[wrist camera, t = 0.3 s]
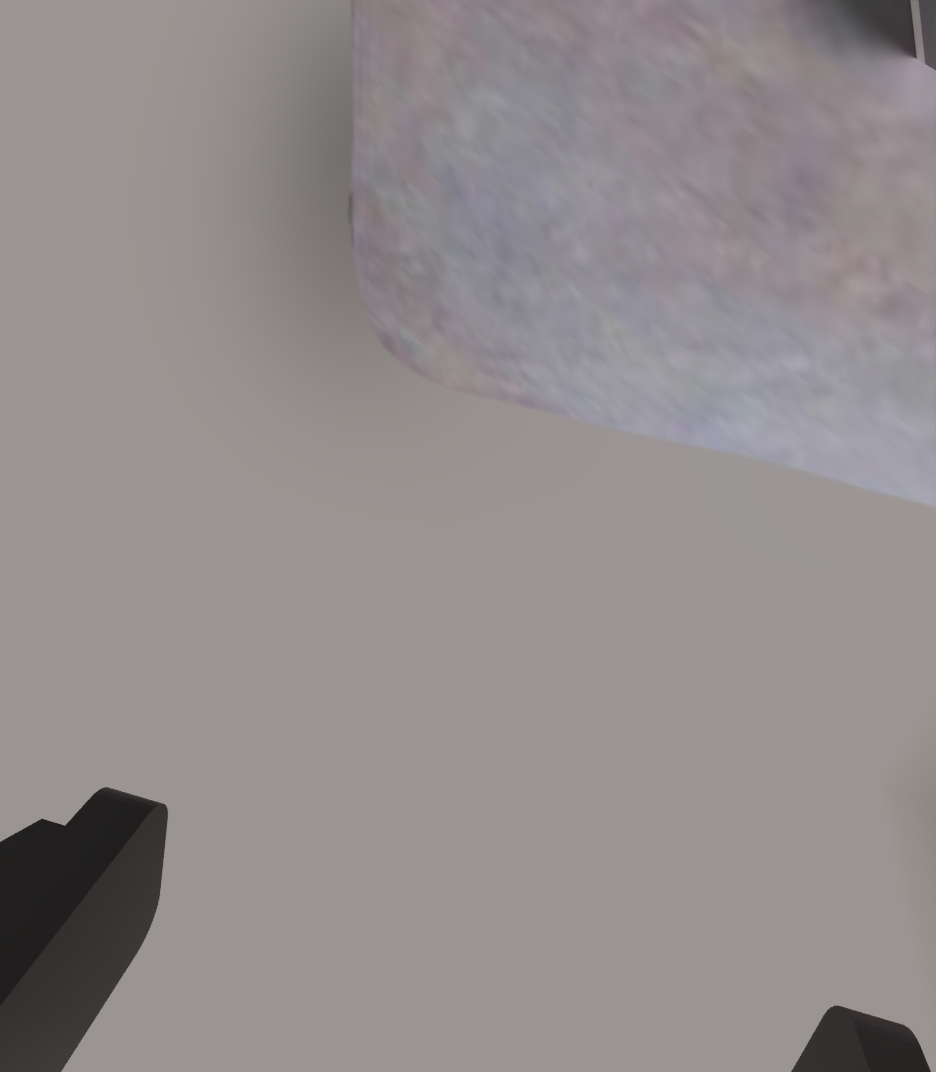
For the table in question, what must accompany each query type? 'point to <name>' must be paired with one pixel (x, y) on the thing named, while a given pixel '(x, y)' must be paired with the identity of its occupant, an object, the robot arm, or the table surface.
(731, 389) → the table surface
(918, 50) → the rail base
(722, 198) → the table surface
